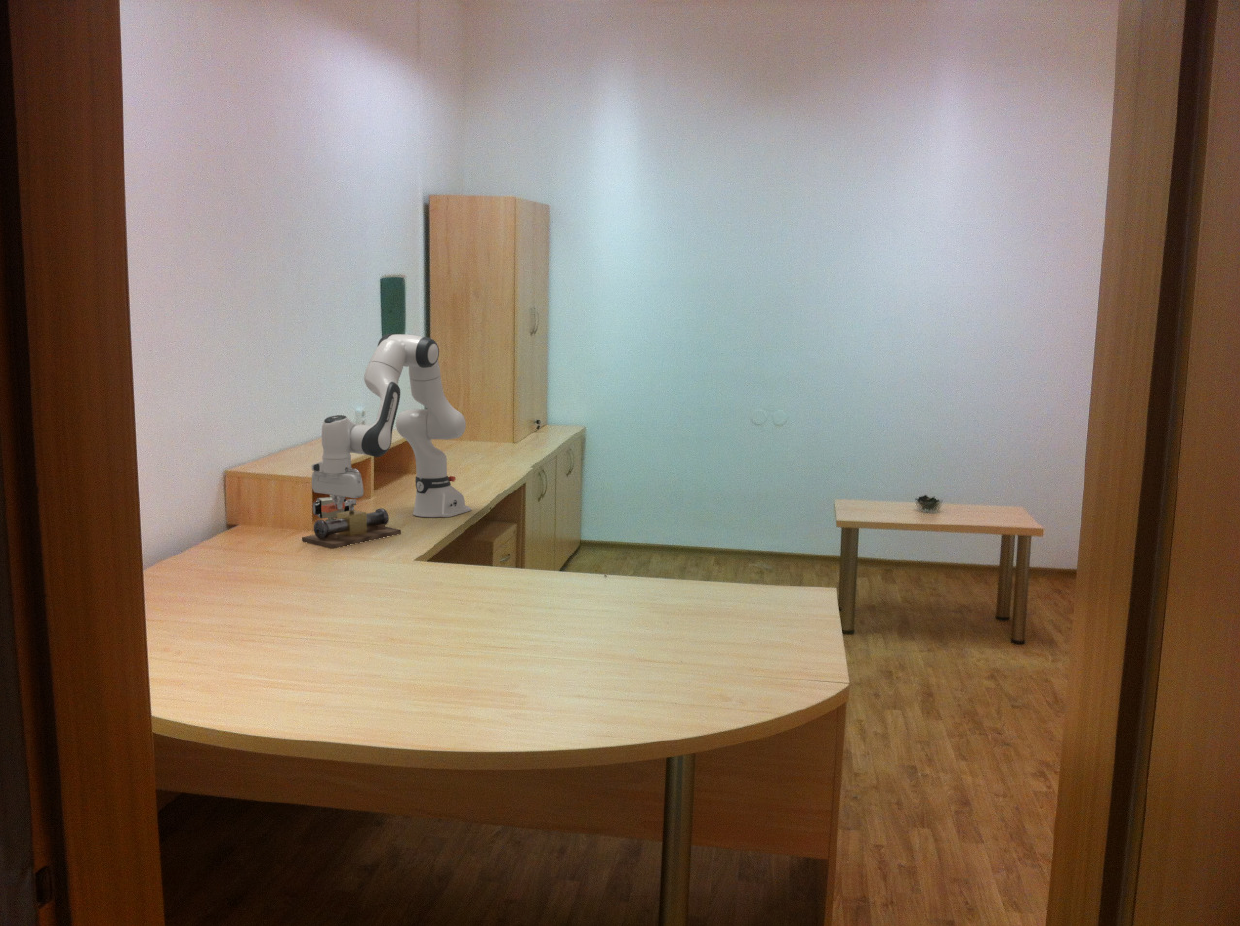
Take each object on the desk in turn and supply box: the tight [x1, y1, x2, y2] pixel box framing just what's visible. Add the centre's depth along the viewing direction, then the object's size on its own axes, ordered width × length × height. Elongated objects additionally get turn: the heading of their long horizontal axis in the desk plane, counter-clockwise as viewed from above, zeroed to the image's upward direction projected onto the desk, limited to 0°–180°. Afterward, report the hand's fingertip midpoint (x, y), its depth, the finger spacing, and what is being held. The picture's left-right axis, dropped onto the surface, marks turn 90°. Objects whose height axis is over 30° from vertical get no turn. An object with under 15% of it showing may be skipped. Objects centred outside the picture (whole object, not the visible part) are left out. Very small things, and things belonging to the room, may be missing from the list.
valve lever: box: [321, 498, 357, 513], centre depth 337 cm, size 14×3×2 cm, turn 155°
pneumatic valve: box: [312, 495, 349, 521], centre depth 355 cm, size 6×12×12 cm, turn 117°
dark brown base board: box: [301, 524, 402, 550], centre depth 343 cm, size 28×16×3 cm, turn 143°
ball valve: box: [313, 505, 389, 539], centre depth 343 cm, size 26×6×9 cm, turn 143°
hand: (338, 508), depth 333 cm, fingers closed
